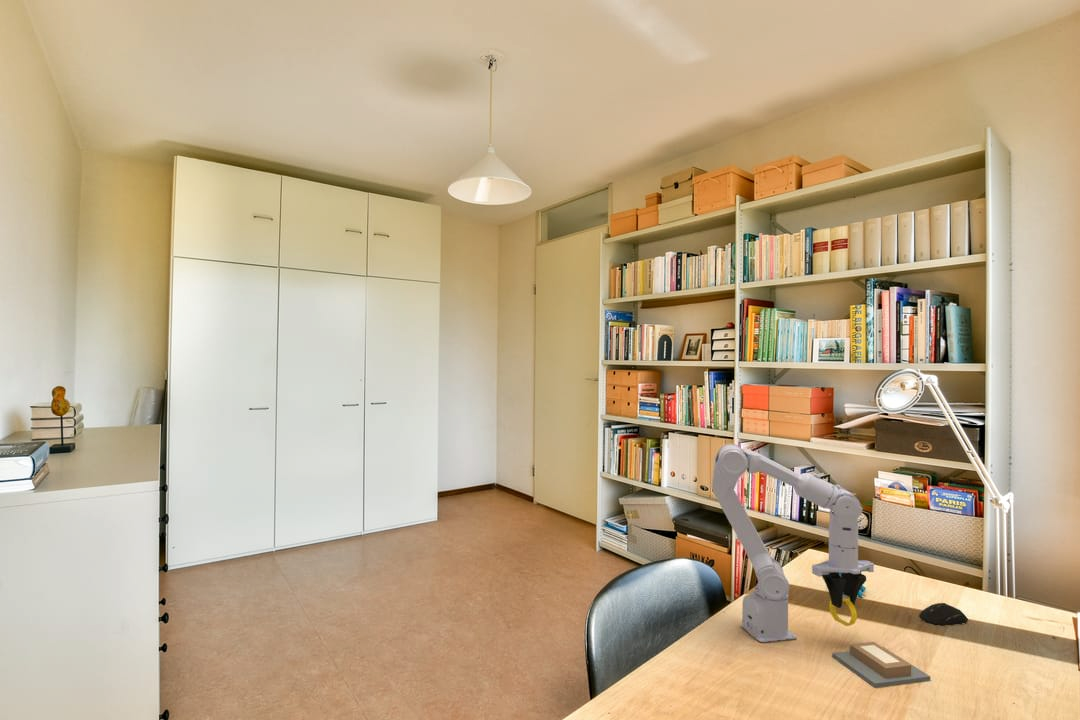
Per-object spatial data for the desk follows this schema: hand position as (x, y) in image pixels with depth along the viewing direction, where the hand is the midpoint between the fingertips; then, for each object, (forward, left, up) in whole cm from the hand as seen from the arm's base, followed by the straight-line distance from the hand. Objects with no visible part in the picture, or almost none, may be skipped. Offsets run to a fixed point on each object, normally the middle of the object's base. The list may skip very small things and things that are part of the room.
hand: (842, 605), depth 118 cm
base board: (0, -10, -8) cm, 13 cm away
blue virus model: (+22, +23, -9) cm, 33 cm away
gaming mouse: (+32, +5, -9) cm, 34 cm away
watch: (0, 0, -4) cm, 4 cm away
